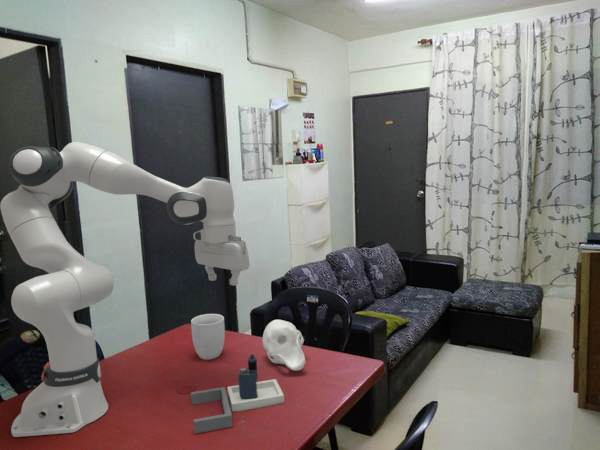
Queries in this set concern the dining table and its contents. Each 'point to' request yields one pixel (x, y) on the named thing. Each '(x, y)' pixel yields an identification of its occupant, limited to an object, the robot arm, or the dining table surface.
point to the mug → (208, 335)
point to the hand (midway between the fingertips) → (222, 282)
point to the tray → (266, 393)
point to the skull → (284, 344)
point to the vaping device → (248, 380)
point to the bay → (212, 421)
